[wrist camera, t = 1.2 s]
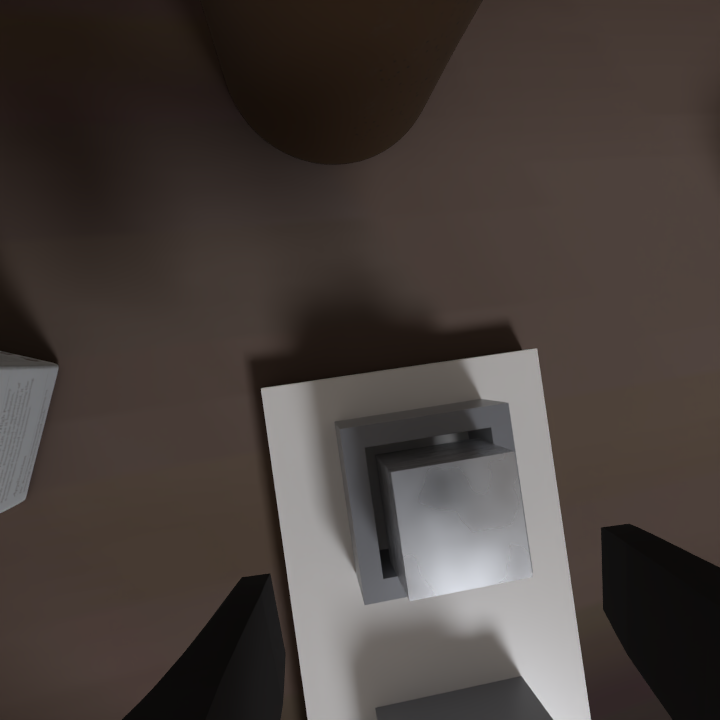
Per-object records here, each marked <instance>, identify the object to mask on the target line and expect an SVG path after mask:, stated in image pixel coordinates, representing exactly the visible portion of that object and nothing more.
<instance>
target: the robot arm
mask: <svg viewBox="0 0 720 720" xmlns="http://www.w3.org/2000/svg"><path fill="white" fill-rule="evenodd" d="M601 540H602V580H603V610H604V612H605V614H606V616H607V617H608V619H609V621H610V623H611V625H612V627H613V629H614V631H615V633H616V635H617V637H618V638H619V640H620V642H621V644H622V646H623V647H624V649H625V651H626V653H627V655H628V656H629V658H630V659H631V660H632V662H633V663H634V665H635V666H636V668H637V669H638V671H639V672H640V674H641V675H642V676H643V678H644V679H645V681H646V682H647V684H648V685H649V687H650V688H651V689H652V691H653V692H654V694H655V695H656V697H657V698H658V699H659V701H660V702H661V704H662V705H663V706H664V708H665V709H666V711H667V712H668V714H669V715H670V716H671V718H672V719H673V720H720V567H718V566H715V565H713V564H711V563H709V562H707V561H705V560H703V559H701V558H699V557H697V556H695V555H693V554H691V553H689V552H687V551H685V550H683V549H681V548H679V547H677V546H675V545H673V544H671V543H669V542H667V541H665V540H663V539H661V538H659V537H657V536H655V535H653V534H651V533H649V532H647V531H645V530H642V529H640V528H638V527H636V526H633V525H631V524H624V525H617V526H610V527H602V528H601ZM284 676H285V648H284V643H283V638H282V633H281V628H280V622H279V617H278V612H277V607H276V601H275V596H274V591H273V586H272V581H271V575H270V574H263V575H256V576H249V577H242V578H241V579H240V581H239V582H238V583H237V584H236V586H235V587H234V588H233V590H232V591H231V592H230V594H229V595H228V596H227V598H226V599H225V600H224V602H223V603H222V604H221V606H220V607H219V608H218V610H217V611H216V612H215V614H214V615H213V616H212V618H211V619H210V620H209V622H208V623H207V624H206V626H205V627H204V628H203V629H202V631H201V632H200V633H199V634H198V636H197V637H196V638H195V640H194V641H193V642H192V643H191V645H190V646H189V647H188V648H187V650H186V651H185V652H184V653H183V655H182V656H181V657H180V658H179V659H178V660H177V662H176V663H175V664H174V665H173V666H172V667H171V668H170V670H169V671H168V672H167V673H166V674H165V675H164V677H163V678H162V679H161V680H160V681H159V682H158V683H157V685H156V686H155V687H154V688H153V689H152V690H151V691H150V692H149V693H148V694H147V695H146V696H145V697H144V698H143V699H142V700H141V701H140V702H139V704H138V705H137V706H135V707H134V708H133V709H132V710H131V711H130V712H129V713H128V714H127V715H126V716H125V717H124V718H123V719H122V720H280V719H281V712H282V706H283V694H284Z"/></svg>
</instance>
